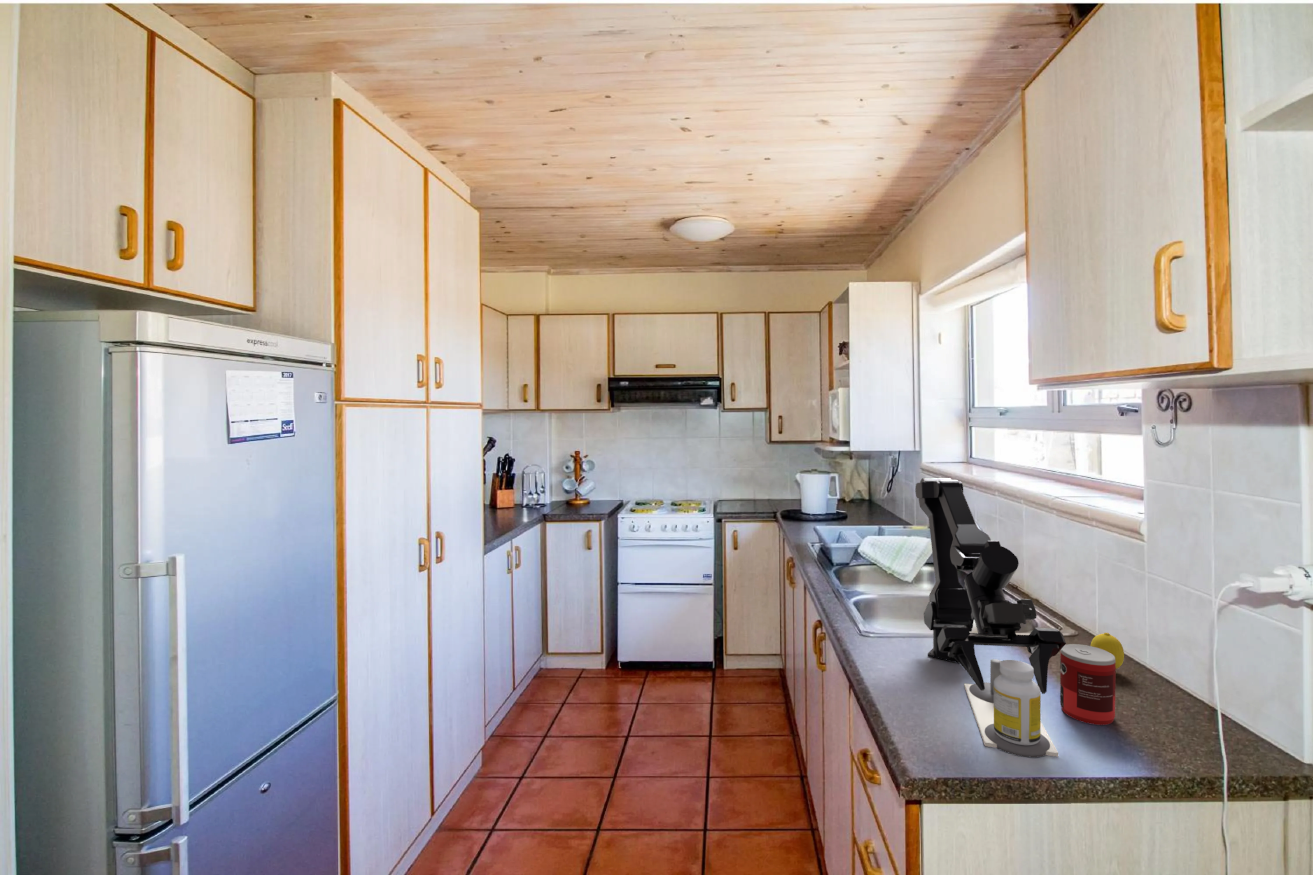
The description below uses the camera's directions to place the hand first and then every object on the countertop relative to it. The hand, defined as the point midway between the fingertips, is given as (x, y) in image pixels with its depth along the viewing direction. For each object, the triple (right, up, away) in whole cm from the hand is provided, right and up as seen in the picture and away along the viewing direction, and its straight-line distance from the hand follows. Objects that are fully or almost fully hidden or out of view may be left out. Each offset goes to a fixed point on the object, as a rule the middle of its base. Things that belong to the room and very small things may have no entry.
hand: (1013, 691), depth 97 cm
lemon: (+33, -6, +24) cm, 41 cm away
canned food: (+17, -7, +7) cm, 20 cm away
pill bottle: (0, -7, -1) cm, 7 cm away
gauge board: (+3, -7, +7) cm, 10 cm away
